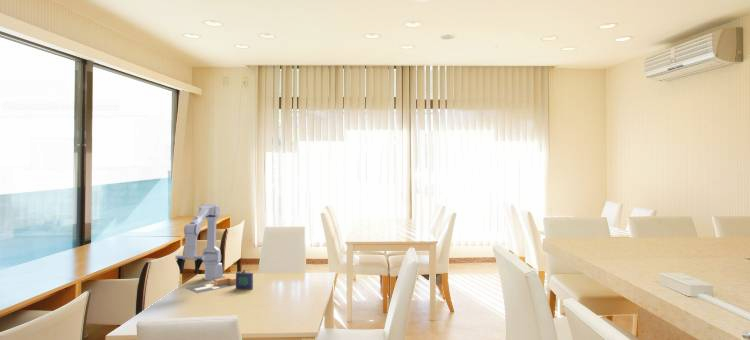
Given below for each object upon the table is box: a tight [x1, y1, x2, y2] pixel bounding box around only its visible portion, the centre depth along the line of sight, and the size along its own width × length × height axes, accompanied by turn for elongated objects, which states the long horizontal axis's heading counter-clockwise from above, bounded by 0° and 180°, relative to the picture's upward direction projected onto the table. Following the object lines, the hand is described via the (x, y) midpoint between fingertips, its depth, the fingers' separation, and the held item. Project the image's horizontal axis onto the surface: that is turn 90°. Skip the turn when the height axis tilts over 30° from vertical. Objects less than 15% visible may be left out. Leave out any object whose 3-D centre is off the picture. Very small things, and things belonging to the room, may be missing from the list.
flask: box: [235, 268, 254, 291], centre depth 246 cm, size 9×3×11 cm, turn 88°
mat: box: [185, 281, 236, 294], centre depth 252 cm, size 31×14×1 cm, turn 136°
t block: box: [213, 274, 236, 286], centre depth 255 cm, size 10×10×3 cm
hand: (188, 273), depth 236 cm, fingers open, 7 cm apart
